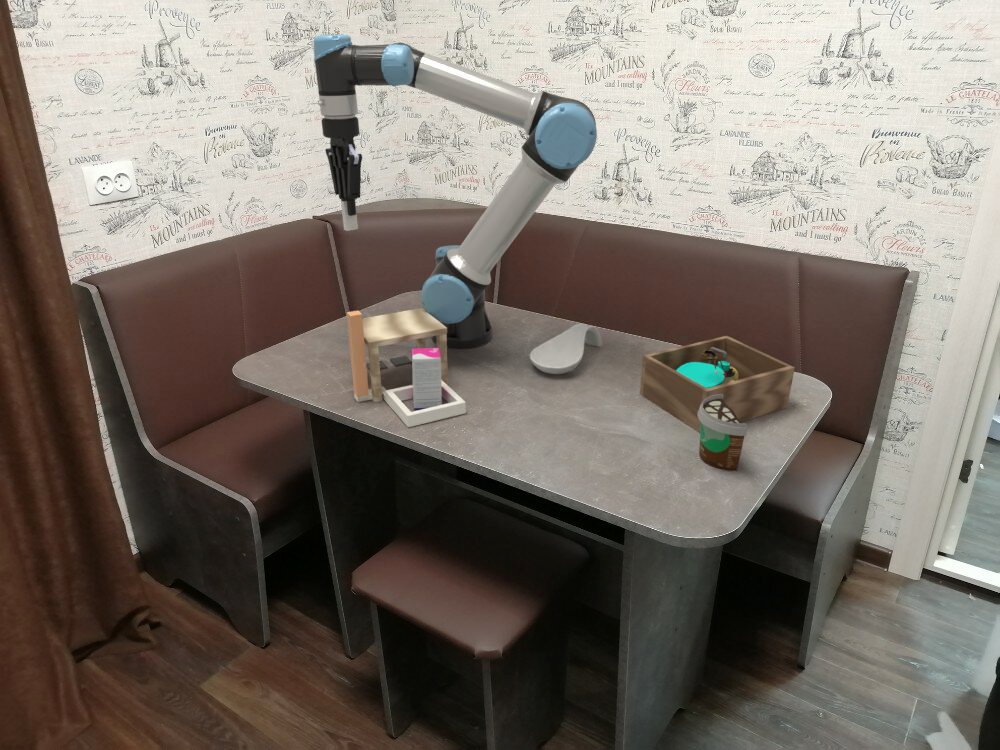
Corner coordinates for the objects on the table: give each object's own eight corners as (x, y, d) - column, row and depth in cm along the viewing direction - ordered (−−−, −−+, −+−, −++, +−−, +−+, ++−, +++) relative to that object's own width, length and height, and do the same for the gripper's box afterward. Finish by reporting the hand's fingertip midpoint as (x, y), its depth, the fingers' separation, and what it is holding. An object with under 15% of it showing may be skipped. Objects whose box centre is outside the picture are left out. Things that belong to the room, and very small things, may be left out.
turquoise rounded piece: (763, 401, 155) (775, 334, 149) (712, 428, 145) (722, 357, 138) (706, 379, 165) (715, 315, 158) (654, 403, 154) (661, 335, 148)
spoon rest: (564, 385, 162) (566, 355, 159) (519, 372, 168) (520, 343, 165) (614, 350, 180) (616, 322, 177) (571, 339, 186) (572, 312, 183)
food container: (683, 441, 140) (689, 393, 136) (715, 440, 140) (722, 392, 136) (705, 477, 129) (712, 426, 125) (739, 475, 129) (748, 425, 125)
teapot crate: (721, 372, 167) (726, 335, 164) (787, 407, 152) (794, 367, 148) (639, 394, 158) (643, 355, 154) (701, 433, 142) (706, 391, 139)
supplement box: (442, 409, 151) (441, 357, 147) (413, 411, 151) (410, 359, 146) (441, 396, 157) (439, 346, 152) (412, 398, 156) (410, 348, 151)
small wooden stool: (424, 363, 172) (421, 308, 166) (448, 385, 161) (447, 327, 155) (353, 377, 165) (348, 320, 159) (374, 402, 154) (369, 342, 148)
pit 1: (381, 362, 173) (381, 360, 172) (387, 368, 169) (387, 366, 169) (365, 365, 171) (365, 363, 171) (370, 371, 168) (370, 370, 167)
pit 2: (405, 357, 175) (405, 355, 175) (412, 363, 172) (412, 361, 172) (389, 360, 173) (389, 358, 173) (396, 366, 170) (395, 365, 170)
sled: (431, 380, 163) (428, 298, 155) (465, 413, 150) (463, 325, 142) (354, 397, 156) (346, 312, 148) (382, 433, 142) (375, 341, 134)
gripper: (309, 115, 157) (322, 226, 167) (336, 120, 147) (348, 238, 157) (342, 112, 161) (353, 221, 171) (370, 117, 151) (380, 232, 161)
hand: (351, 229), depth 164 cm, fingers closed
